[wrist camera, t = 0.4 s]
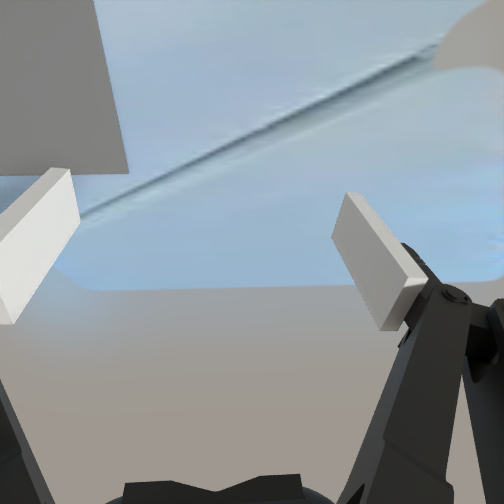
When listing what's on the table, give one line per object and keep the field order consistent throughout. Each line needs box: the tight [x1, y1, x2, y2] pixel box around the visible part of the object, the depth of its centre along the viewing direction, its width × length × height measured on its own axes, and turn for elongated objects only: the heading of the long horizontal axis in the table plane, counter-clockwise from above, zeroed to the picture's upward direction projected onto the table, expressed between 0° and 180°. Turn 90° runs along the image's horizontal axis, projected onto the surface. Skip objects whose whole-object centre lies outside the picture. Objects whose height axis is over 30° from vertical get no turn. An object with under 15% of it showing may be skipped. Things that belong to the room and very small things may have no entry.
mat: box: [0, 0, 129, 176], centre depth 35 cm, size 20×16×1 cm
